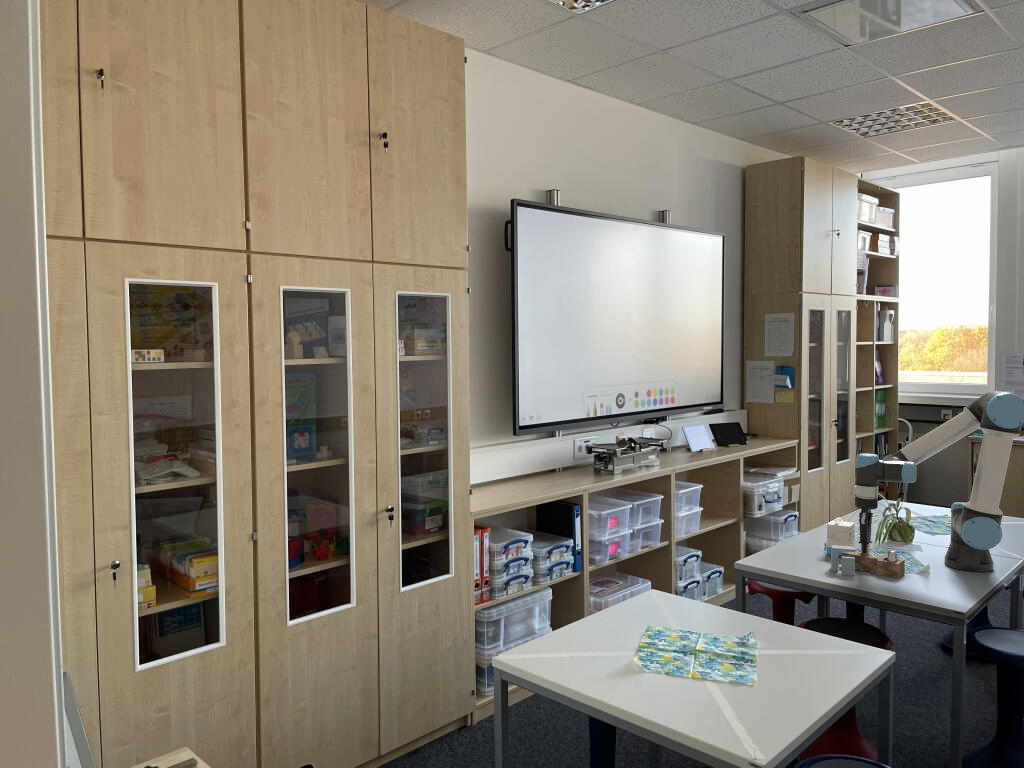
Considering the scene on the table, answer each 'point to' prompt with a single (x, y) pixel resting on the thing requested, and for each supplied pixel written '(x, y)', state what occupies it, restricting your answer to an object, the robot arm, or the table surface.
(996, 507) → the robot arm
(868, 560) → the link
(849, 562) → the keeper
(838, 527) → the ink box
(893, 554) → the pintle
